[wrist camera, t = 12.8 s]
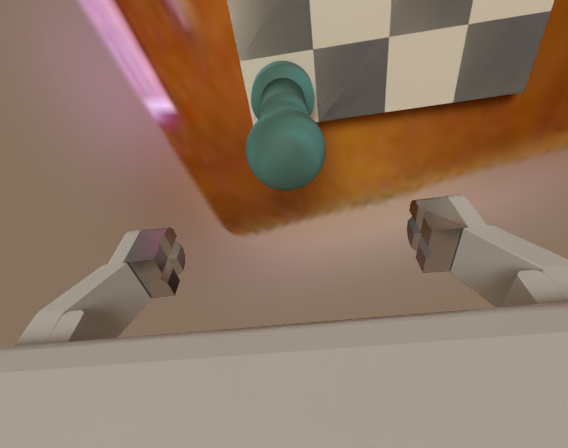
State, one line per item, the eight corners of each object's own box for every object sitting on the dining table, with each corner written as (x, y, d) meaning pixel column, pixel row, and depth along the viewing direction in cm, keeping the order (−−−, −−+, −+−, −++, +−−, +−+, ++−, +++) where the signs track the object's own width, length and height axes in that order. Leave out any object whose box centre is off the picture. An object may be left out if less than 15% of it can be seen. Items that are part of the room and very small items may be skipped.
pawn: (310, 55, 21) (333, 116, 13) (314, 119, 24) (336, 203, 16) (246, 66, 22) (227, 132, 13) (258, 127, 24) (249, 214, 16)
